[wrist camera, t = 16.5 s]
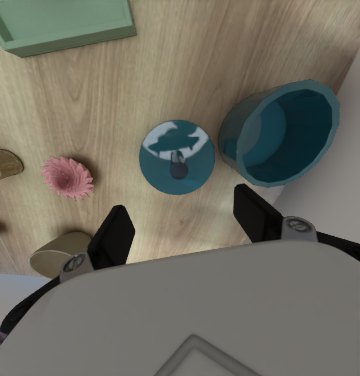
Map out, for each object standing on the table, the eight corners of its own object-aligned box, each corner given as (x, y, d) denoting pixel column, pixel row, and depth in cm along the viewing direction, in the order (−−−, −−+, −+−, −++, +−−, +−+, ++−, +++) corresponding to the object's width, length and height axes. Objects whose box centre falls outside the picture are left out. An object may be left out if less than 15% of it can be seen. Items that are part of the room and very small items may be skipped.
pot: (297, 86, 20) (360, 70, 13) (280, 164, 26) (318, 179, 19) (217, 101, 20) (239, 92, 14) (218, 174, 26) (234, 193, 19)
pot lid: (211, 113, 21) (224, 111, 16) (214, 186, 27) (223, 201, 22) (129, 128, 21) (117, 130, 16) (151, 197, 28) (147, 213, 23)
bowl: (106, 232, 31) (90, 260, 25) (95, 255, 35) (79, 285, 29) (60, 217, 28) (29, 244, 22) (53, 244, 32) (25, 275, 26)
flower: (100, 152, 23) (80, 161, 18) (107, 192, 26) (93, 208, 21) (50, 148, 22) (16, 157, 17) (65, 190, 26) (40, 206, 21)
